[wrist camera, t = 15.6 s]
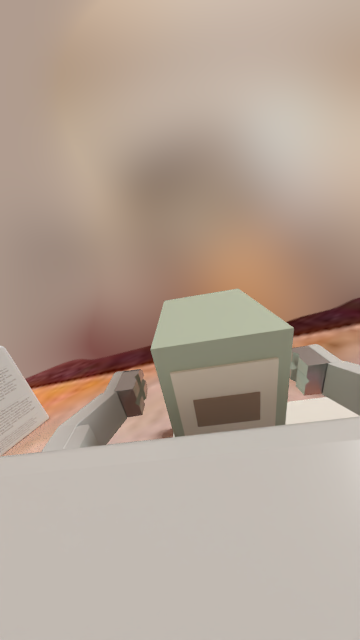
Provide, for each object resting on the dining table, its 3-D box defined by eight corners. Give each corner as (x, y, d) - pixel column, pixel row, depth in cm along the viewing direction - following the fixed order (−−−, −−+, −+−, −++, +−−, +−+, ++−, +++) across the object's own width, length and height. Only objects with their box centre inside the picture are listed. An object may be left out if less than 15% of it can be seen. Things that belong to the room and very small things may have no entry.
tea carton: (278, 520, 10) (296, 330, 5) (198, 526, 10) (149, 351, 6) (244, 425, 15) (238, 288, 10) (192, 431, 15) (164, 300, 11)
